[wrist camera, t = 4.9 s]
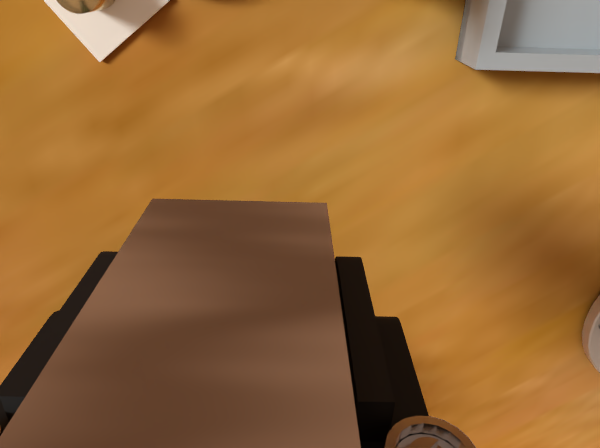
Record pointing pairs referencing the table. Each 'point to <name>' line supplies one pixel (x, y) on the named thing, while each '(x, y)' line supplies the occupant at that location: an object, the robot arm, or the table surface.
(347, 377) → the block
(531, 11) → the tray
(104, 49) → the plate
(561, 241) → the table surface
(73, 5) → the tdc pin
